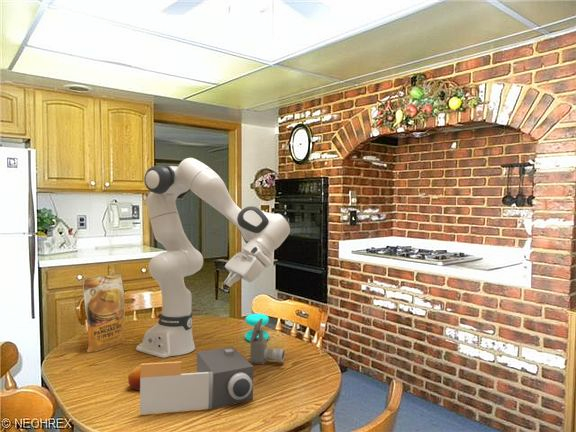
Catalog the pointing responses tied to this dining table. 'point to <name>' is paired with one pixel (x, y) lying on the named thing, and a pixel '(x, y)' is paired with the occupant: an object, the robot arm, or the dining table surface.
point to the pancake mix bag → (104, 311)
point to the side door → (173, 388)
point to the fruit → (134, 378)
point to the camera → (263, 347)
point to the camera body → (227, 375)
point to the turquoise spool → (253, 320)
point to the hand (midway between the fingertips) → (226, 284)
